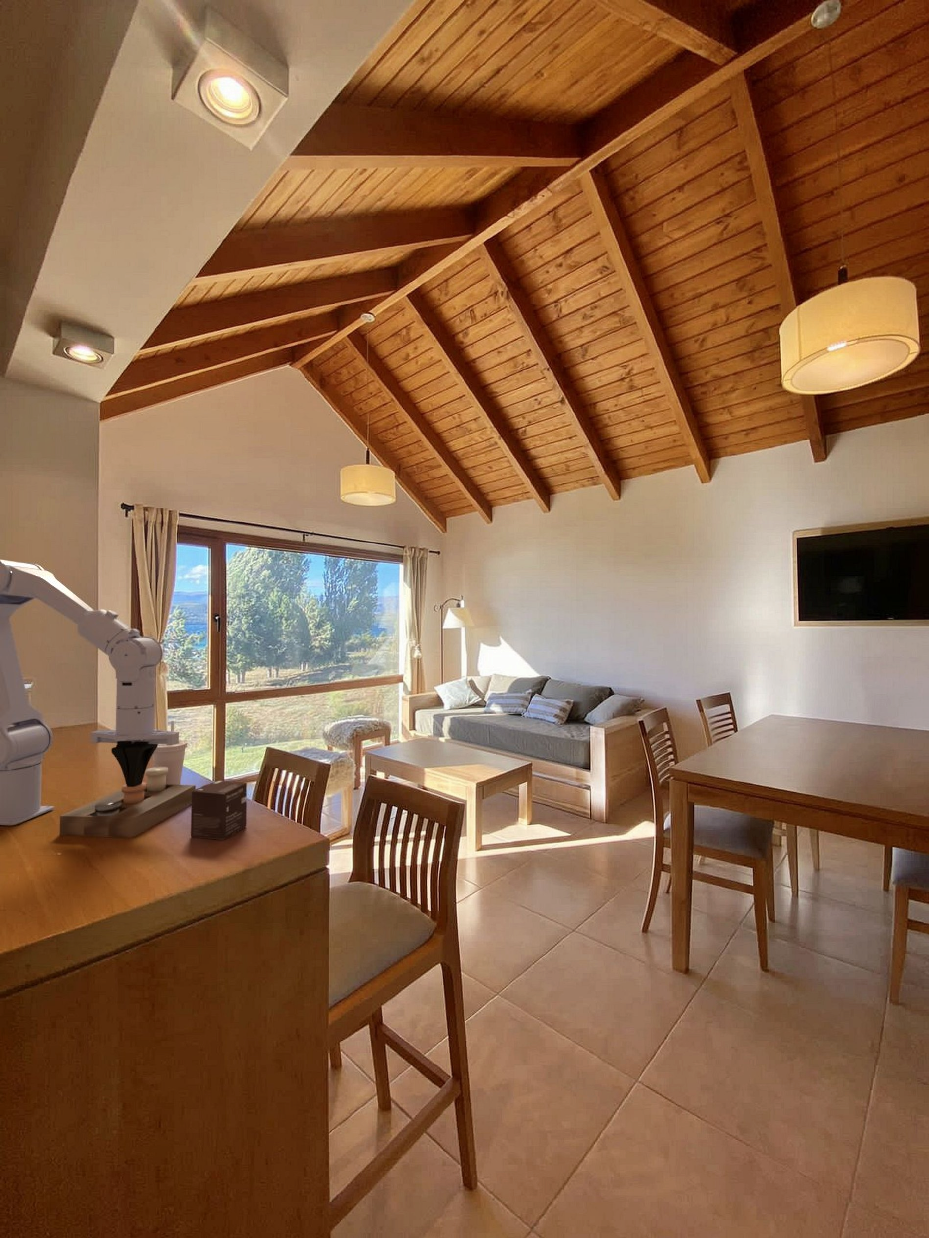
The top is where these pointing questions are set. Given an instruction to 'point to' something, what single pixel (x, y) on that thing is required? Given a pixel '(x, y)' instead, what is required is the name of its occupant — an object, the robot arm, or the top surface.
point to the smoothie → (171, 759)
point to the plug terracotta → (134, 793)
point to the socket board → (127, 813)
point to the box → (218, 809)
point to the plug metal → (108, 807)
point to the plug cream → (156, 779)
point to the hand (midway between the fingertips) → (134, 785)
